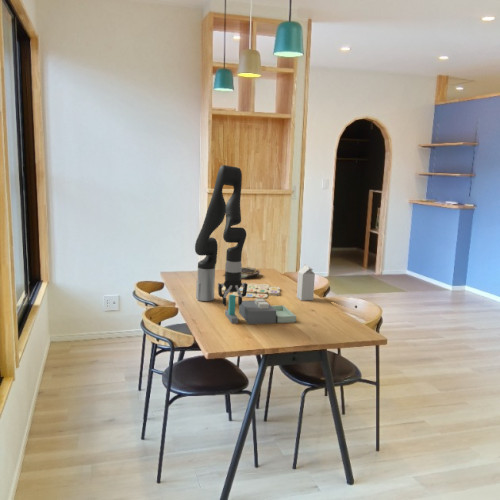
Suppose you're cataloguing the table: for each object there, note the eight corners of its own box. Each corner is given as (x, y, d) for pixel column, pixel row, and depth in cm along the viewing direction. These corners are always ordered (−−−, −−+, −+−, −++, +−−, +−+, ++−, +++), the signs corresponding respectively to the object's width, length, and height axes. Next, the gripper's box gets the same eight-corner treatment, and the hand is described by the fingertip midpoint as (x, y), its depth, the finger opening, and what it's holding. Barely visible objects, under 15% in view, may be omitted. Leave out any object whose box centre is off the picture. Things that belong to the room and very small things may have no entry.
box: (277, 322, 228) (278, 316, 228) (266, 311, 246) (266, 305, 245) (295, 322, 231) (296, 316, 230) (283, 311, 248) (283, 305, 248)
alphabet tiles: (280, 286, 301) (281, 283, 301) (278, 300, 269) (279, 296, 269) (227, 283, 304) (227, 279, 304) (218, 296, 272) (218, 292, 272)
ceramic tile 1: (260, 308, 229) (260, 304, 229) (257, 306, 233) (258, 302, 233) (268, 308, 230) (268, 304, 230) (266, 305, 234) (266, 301, 234)
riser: (248, 324, 225) (249, 311, 224) (239, 312, 242) (239, 300, 241) (275, 323, 228) (276, 310, 227) (264, 311, 245) (264, 300, 244)
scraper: (231, 323, 225) (232, 299, 223) (225, 314, 238) (225, 291, 236) (237, 323, 225) (239, 299, 224) (231, 314, 239) (231, 291, 237)
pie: (272, 278, 324) (273, 270, 324) (243, 283, 306) (243, 276, 305) (243, 270, 344) (243, 263, 343) (213, 275, 325) (213, 268, 324)
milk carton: (301, 300, 269) (303, 266, 266) (296, 297, 276) (298, 264, 273) (313, 300, 271) (315, 266, 268) (308, 297, 278) (310, 264, 274)
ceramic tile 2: (256, 305, 235) (257, 300, 235) (254, 302, 239) (254, 298, 238) (264, 304, 236) (265, 300, 236) (262, 302, 240) (262, 298, 240)
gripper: (246, 268, 233) (244, 302, 236) (216, 268, 229) (215, 303, 232) (250, 271, 226) (248, 306, 229) (219, 272, 222) (218, 307, 225)
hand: (231, 304), depth 231 cm, fingers open, 6 cm apart
